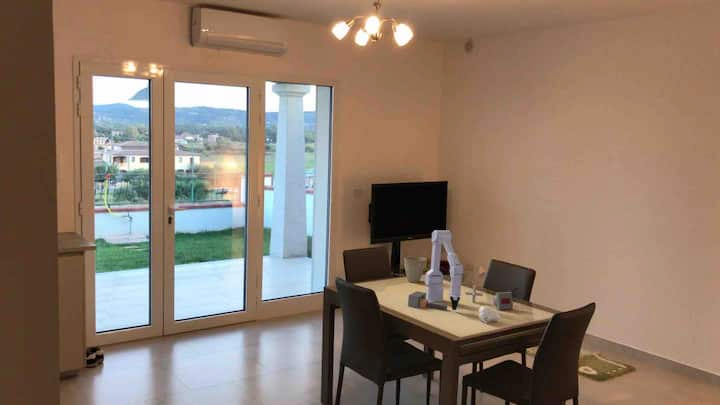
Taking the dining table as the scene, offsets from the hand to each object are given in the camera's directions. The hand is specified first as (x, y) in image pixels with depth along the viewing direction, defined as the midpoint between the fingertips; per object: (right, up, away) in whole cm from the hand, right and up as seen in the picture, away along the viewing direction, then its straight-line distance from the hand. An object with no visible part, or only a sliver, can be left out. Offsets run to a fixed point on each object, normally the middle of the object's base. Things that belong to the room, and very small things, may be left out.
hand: (454, 309), depth 342 cm
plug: (-11, 0, +6) cm, 13 cm away
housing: (-20, +1, +11) cm, 23 cm away
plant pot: (-17, +6, +73) cm, 75 cm away
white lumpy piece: (+16, -4, -17) cm, 24 cm away
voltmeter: (+35, -2, +18) cm, 39 cm away
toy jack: (+16, 0, +25) cm, 29 cm away
